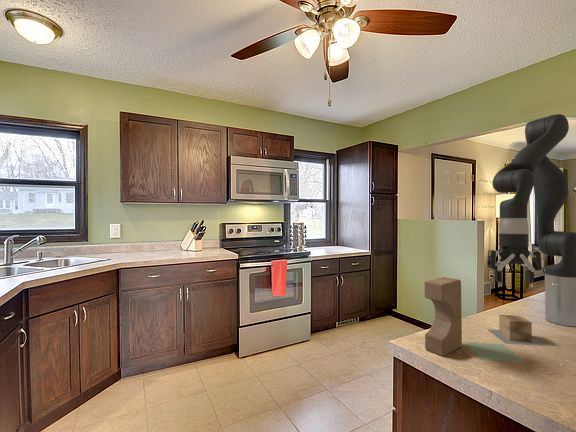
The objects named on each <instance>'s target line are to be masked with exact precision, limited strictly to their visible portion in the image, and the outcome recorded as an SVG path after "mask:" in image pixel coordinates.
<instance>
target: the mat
mask: <svg viewBox="0 0 576 432" xmlns="http://www.w3.org/2000/svg"><path fill="white" fill-rule="evenodd" d="M463 343H464V344H465V345H466V346H467V347H468V348H469V349H470V350H471V351H472V352H473V353H474V354H475V355H476V356H477V357H478V358H479V359H480V360H487V361H503V362H514V363H528V362H527V361H526V360H525V359H523V358H522V357H521V356H519V355H518V354H517V353H515V352H514V351H513V350H512V349H510V348H509V347H508V346H506V345H505V343H504V344H501V343H489V342H488V343H487V342H486V343H485V342H472V341H463Z"/></svg>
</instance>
